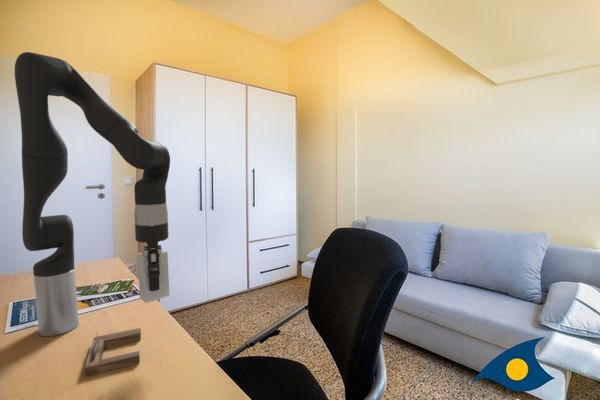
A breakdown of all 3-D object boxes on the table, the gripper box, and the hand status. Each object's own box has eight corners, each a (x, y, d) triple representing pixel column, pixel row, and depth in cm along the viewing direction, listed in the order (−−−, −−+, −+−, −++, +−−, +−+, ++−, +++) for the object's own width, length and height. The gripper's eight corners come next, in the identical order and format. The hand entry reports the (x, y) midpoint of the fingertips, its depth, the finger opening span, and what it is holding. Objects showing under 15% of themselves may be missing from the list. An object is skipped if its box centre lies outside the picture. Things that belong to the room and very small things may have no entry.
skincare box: (162, 291, 83) (160, 248, 82) (169, 296, 80) (168, 251, 79) (138, 298, 78) (136, 253, 77) (145, 303, 76) (143, 256, 74)
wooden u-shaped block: (94, 344, 82) (93, 334, 82) (140, 334, 87) (140, 325, 87) (84, 376, 70) (84, 364, 69) (139, 362, 74) (138, 352, 74)
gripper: (135, 217, 82) (138, 278, 84) (133, 227, 69) (137, 299, 71) (166, 215, 85) (168, 274, 87) (169, 225, 72) (172, 294, 74)
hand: (154, 285), depth 79 cm, fingers closed on skincare box, 5 cm apart
